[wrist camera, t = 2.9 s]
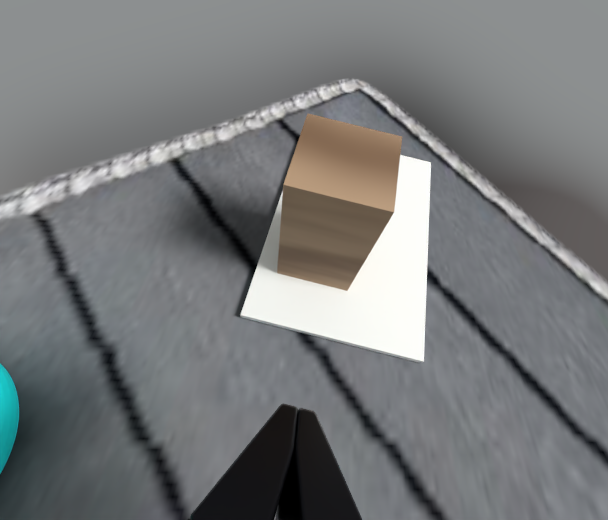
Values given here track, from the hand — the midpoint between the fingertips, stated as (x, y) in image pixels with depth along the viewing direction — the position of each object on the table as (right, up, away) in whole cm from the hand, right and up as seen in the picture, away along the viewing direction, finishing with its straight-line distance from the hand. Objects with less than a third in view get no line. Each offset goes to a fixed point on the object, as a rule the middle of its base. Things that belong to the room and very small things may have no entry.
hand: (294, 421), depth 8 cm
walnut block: (+1, +5, +15) cm, 16 cm away
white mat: (+4, +6, +17) cm, 19 cm away
